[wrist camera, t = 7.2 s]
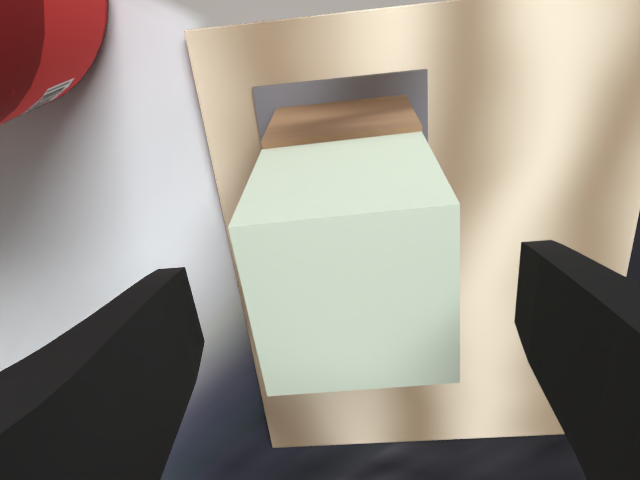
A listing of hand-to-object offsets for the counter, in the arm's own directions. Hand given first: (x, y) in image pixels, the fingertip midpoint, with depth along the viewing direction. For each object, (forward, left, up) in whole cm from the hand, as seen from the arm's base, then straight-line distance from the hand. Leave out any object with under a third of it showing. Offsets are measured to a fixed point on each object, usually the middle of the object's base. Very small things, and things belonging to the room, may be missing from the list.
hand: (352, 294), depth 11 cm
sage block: (0, 0, -5) cm, 5 cm away
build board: (-3, +5, -10) cm, 11 cm away
